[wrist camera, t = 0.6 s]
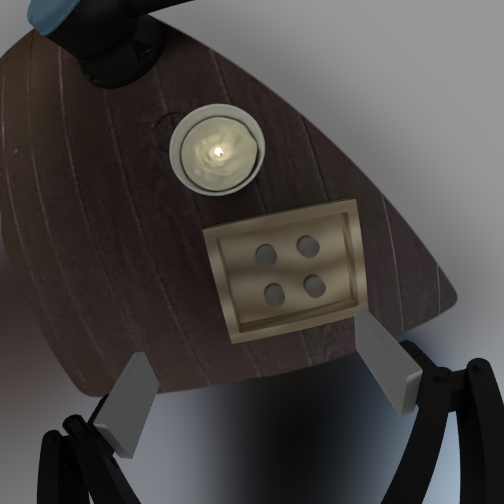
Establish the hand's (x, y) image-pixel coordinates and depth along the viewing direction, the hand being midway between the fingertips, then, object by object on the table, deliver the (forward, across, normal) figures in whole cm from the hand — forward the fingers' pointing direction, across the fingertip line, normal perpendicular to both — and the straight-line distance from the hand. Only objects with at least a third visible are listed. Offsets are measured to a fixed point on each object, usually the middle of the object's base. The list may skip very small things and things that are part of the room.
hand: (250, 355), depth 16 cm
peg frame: (+26, +6, -3) cm, 26 cm away
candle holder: (+26, 0, +14) cm, 30 cm away
